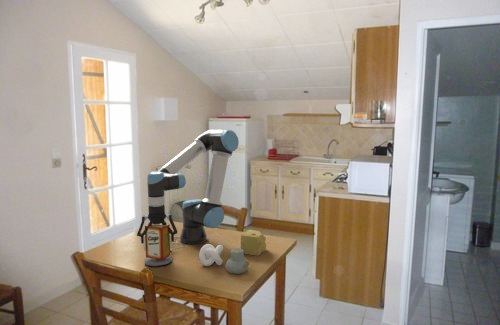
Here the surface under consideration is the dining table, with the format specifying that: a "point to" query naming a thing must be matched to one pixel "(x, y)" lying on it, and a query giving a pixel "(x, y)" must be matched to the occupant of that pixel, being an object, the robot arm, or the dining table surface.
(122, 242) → the dining table surface
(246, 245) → the cheese
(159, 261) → the plate
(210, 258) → the white knot sculpture
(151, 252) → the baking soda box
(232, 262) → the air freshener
